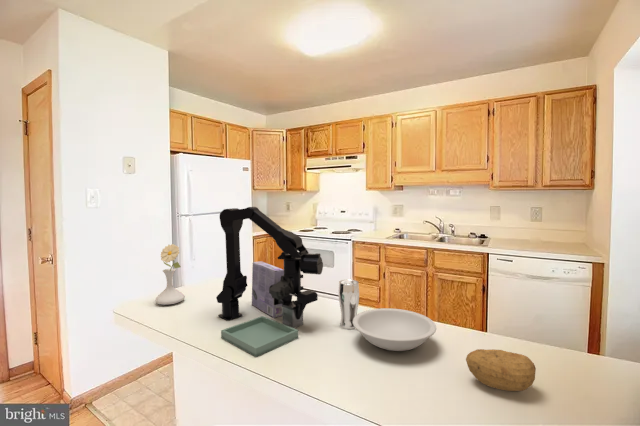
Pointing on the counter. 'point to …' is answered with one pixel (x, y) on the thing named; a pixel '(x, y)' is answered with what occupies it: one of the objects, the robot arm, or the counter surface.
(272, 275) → the cake pan box
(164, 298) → the flower in vase
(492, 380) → the potato
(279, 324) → the tray
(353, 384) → the counter surface
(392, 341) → the soup bowl
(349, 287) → the beer glass
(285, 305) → the capped grey block
